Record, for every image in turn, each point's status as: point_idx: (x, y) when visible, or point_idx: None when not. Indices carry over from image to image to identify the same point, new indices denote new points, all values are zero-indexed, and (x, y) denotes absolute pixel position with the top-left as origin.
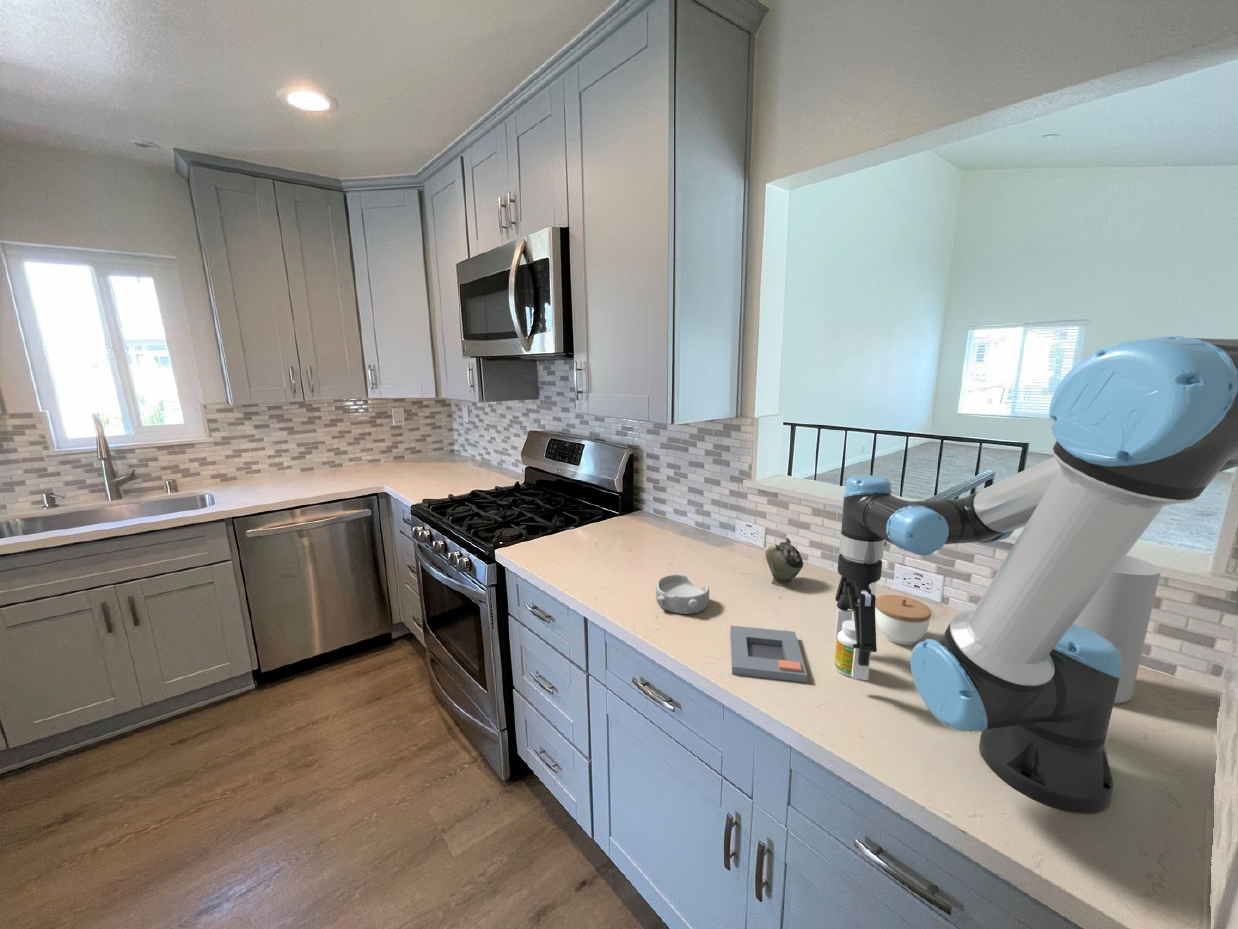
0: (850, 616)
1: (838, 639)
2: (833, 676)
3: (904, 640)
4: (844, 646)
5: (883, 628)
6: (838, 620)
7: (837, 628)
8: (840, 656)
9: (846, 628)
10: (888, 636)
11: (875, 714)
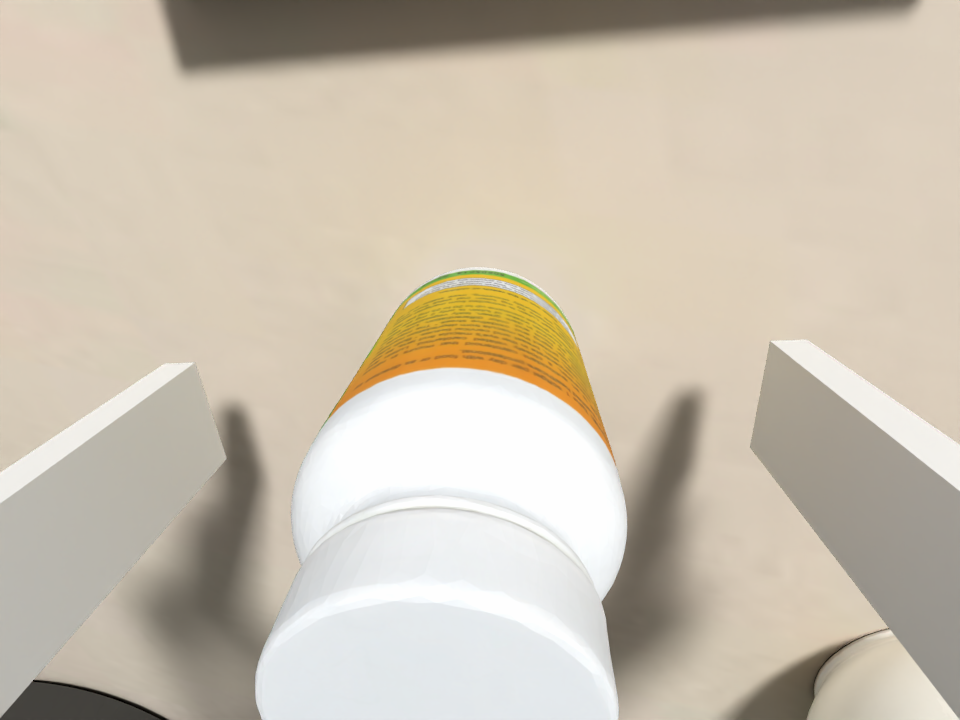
0: (937, 669)
1: (412, 379)
2: (363, 237)
3: (810, 718)
4: (331, 413)
5: (927, 692)
6: (920, 476)
7: (839, 405)
8: (389, 331)
9: (297, 609)
10: (872, 660)
11: (78, 408)
